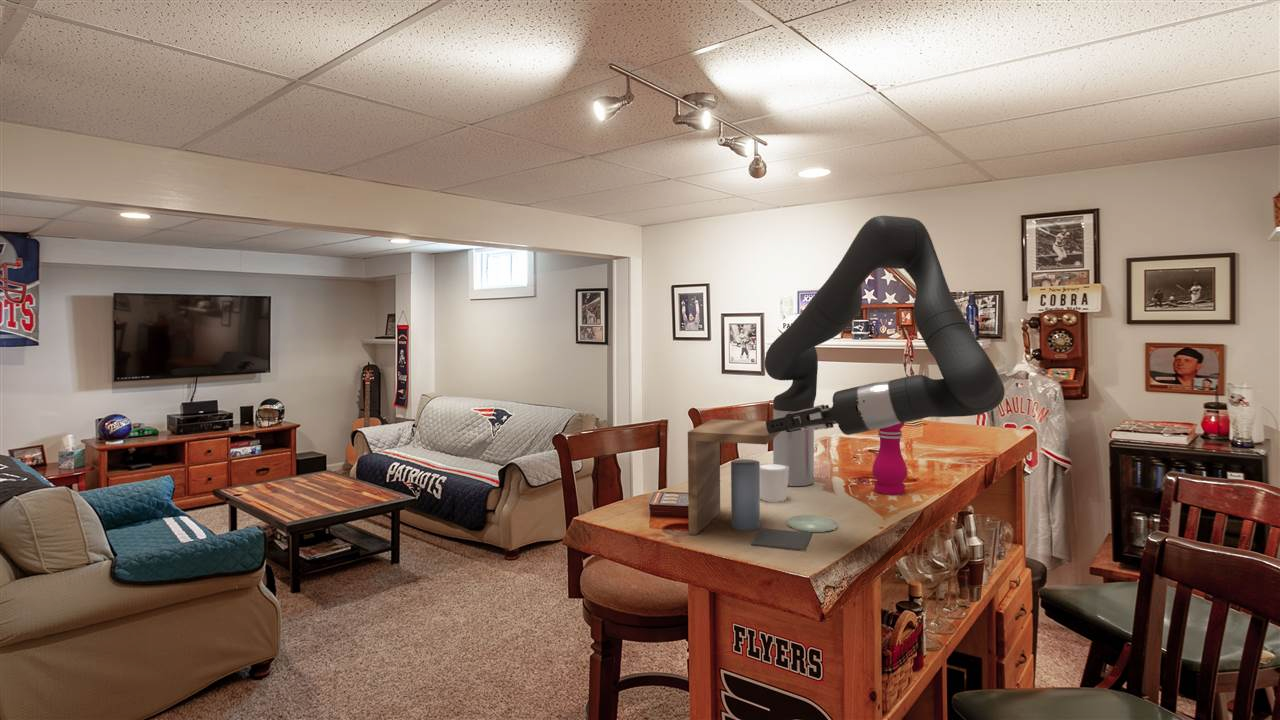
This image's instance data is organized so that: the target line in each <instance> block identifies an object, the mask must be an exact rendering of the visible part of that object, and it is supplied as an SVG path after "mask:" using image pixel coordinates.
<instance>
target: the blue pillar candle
mask: <svg viewBox="0 0 1280 720" xmlns="http://www.w3.org/2000/svg"><path fill="white" fill-rule="evenodd" d="M760 465H761V463H760V461H758V460H755V459H749V458H748V459H745V458H744V459H742V458H741V459H735V460H731V461H730V488H731V489H730V492H731V493H730V495H731V496H730V499H731V501H730V502H731V507H730V508H731V510H730V512H731V517H730V518H731V521H730V522H731V524H730V525H731V528H733V529H735V530H738V531H743V532H744V531H746V532H747V531H756V530H759V529H761V528H760V527H761V508H760V507H761V504H760V503H761V500H760Z"/></svg>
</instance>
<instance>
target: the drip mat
mask: <svg viewBox="0 0 1280 720" xmlns="http://www.w3.org/2000/svg"><path fill="white" fill-rule="evenodd" d="M811 536H813V533H810V532H803V531H798V530H786V529H776V528H765V527H761V528H760V530H759V531H758V533H757V534H756V536H755V537H754V538H753V540H752V541H751V543H750V545H751V546H755V547H765V548H773V549H781V550H782V549H783V550H791V549H792V550H791V551H799V550H805V549H806V550H807V548H808V546H809V543H810V541H809V540H811V539H812V537H811ZM810 538H811V539H810ZM808 542H809V543H808ZM807 545H808V546H807ZM806 547H807V548H806ZM806 550H805V551H806Z"/></svg>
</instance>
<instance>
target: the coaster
mask: <svg viewBox="0 0 1280 720" xmlns="http://www.w3.org/2000/svg"><path fill="white" fill-rule="evenodd" d="M838 524H839V523H838V522H837V521H836V519H833V518H831V517H827V516H823V515H818V514H817V515H816V514H800V515H793V516H791V517H789V518H788V519H787V526H788V527H789V526H790V527H792V528H794V529H793V530H795V529H797V530H796V531H798V530H802V531H801V532H803V531H808V532H807V533H810V532H825V531H831V530H834V529H836V528H837V529H838V527H837V526H838ZM790 527H789V528H790ZM792 528H791V529H792ZM837 529H836V530H837ZM834 531H835V530H834ZM831 532H832V531H831ZM825 533H826V532H825Z"/></svg>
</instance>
